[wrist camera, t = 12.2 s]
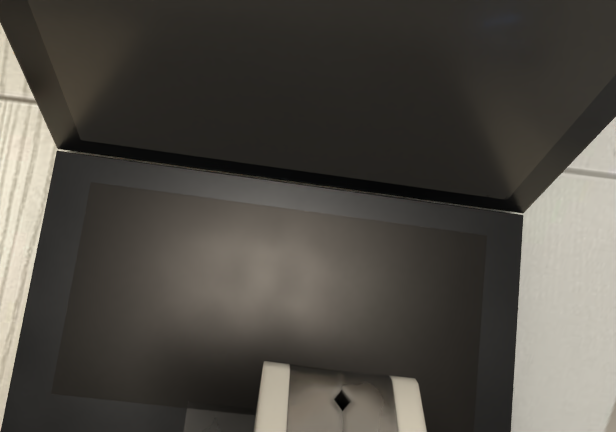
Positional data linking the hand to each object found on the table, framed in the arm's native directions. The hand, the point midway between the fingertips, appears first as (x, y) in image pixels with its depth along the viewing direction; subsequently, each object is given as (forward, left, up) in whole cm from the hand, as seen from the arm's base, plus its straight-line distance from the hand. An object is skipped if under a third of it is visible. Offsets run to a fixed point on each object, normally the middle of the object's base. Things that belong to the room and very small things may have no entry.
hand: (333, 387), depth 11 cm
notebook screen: (+6, -11, -13) cm, 18 cm away
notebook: (-1, +1, -25) cm, 25 cm away
